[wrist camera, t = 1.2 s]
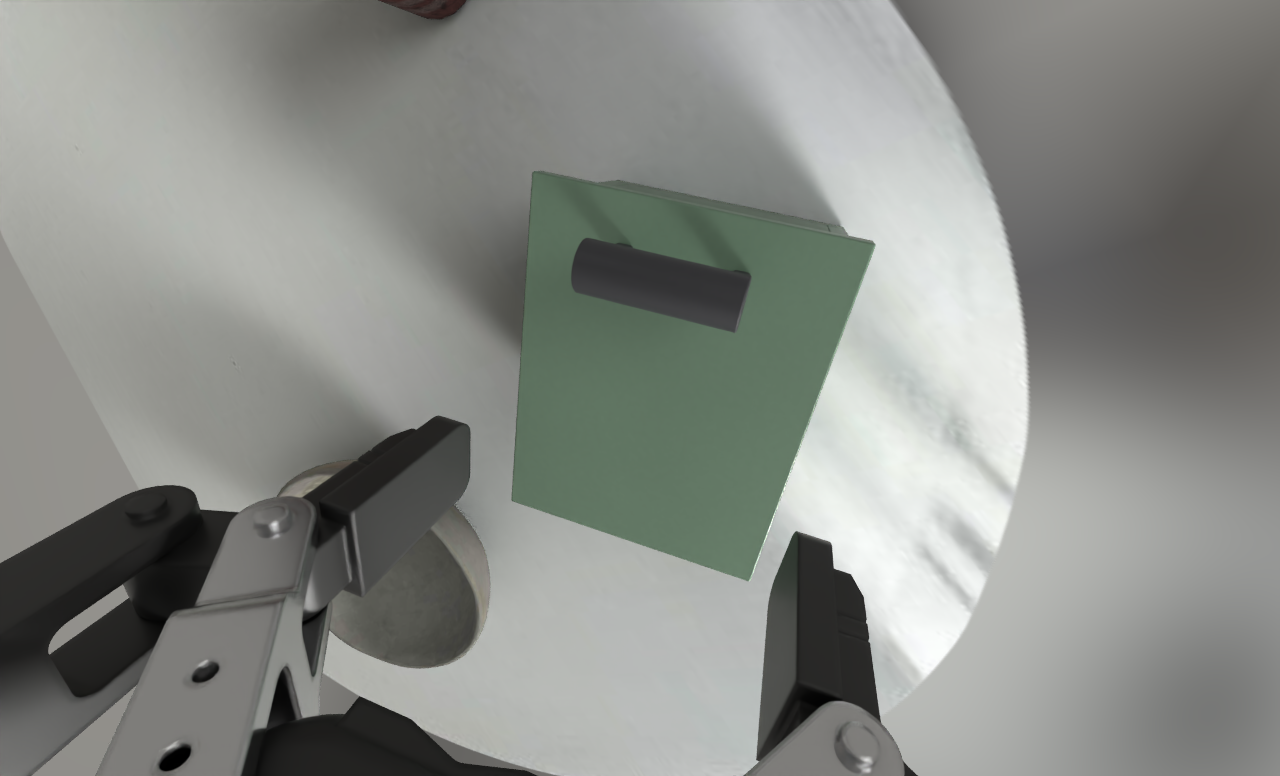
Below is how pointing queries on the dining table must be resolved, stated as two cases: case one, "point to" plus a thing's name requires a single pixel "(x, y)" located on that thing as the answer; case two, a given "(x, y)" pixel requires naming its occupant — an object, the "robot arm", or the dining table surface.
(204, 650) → the robot arm
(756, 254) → the lid
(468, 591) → the bowl
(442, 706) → the dining table surface
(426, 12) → the can
